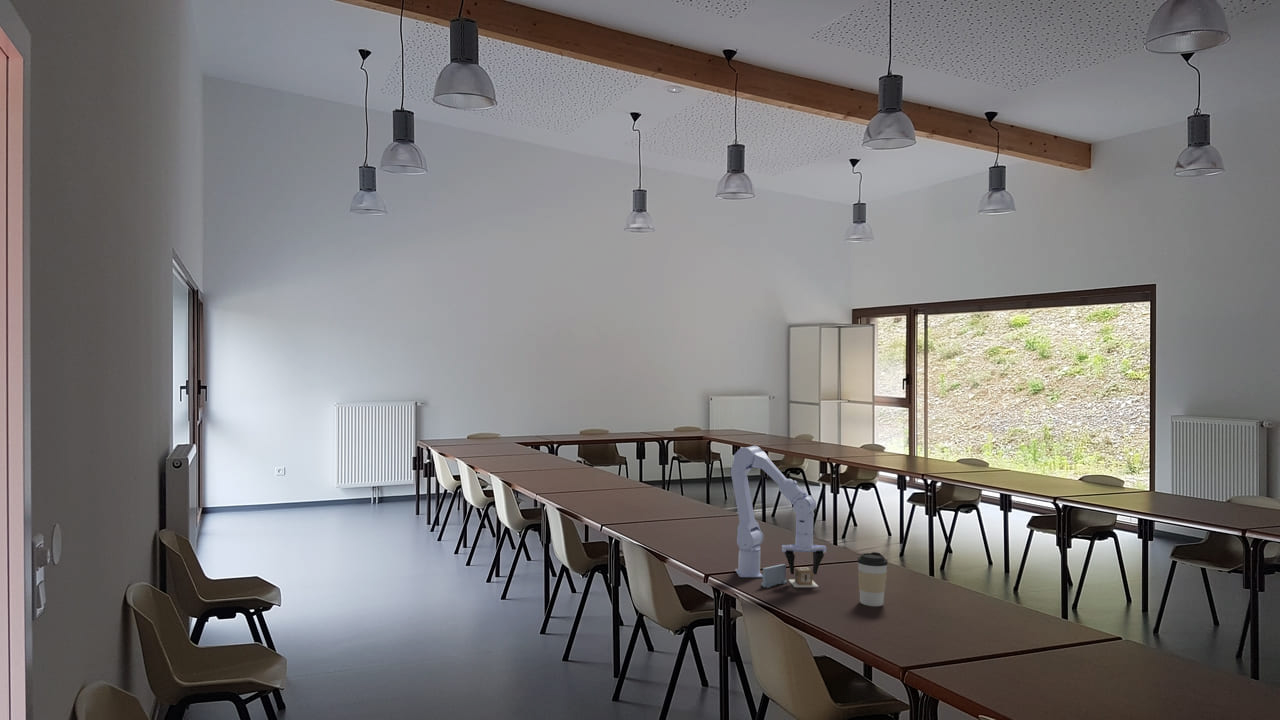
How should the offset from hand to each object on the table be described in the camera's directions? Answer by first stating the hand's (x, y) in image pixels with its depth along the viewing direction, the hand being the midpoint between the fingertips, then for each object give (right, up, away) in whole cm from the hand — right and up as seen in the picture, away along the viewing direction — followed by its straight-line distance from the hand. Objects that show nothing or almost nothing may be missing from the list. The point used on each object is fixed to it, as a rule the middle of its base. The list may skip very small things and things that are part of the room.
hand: (803, 573), depth 278 cm
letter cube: (0, -3, 0) cm, 3 cm away
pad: (0, -3, 0) cm, 3 cm away
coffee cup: (+17, -4, -20) cm, 27 cm away
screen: (-10, -3, -2) cm, 11 cm away
